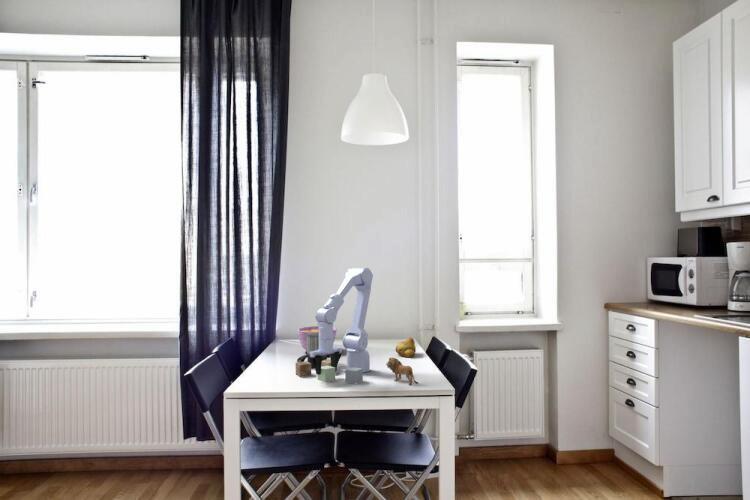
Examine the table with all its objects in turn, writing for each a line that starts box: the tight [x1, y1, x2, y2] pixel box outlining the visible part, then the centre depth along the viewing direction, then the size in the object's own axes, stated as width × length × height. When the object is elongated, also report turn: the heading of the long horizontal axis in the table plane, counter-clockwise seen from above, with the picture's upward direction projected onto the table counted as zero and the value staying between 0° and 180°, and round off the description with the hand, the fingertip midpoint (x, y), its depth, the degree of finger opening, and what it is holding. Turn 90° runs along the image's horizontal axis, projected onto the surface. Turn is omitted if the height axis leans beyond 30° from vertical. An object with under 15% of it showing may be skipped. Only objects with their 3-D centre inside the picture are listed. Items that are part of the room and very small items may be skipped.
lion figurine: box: [386, 356, 419, 386], centre depth 203 cm, size 15×5×9 cm, turn 50°
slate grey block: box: [344, 367, 364, 384], centre depth 204 cm, size 5×5×5 cm
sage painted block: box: [317, 366, 336, 383], centre depth 208 cm, size 5×5×5 cm
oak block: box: [321, 358, 338, 374], centre depth 220 cm, size 5×5×5 cm
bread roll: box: [395, 337, 417, 358], centre depth 253 cm, size 13×10×8 cm
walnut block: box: [295, 360, 312, 378], centre depth 216 cm, size 5×5×5 cm
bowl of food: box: [297, 325, 338, 351], centre depth 264 cm, size 20×20×12 cm
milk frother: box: [296, 332, 330, 370], centre depth 234 cm, size 14×16×15 cm
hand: (326, 372), depth 208 cm, fingers open, 7 cm apart
